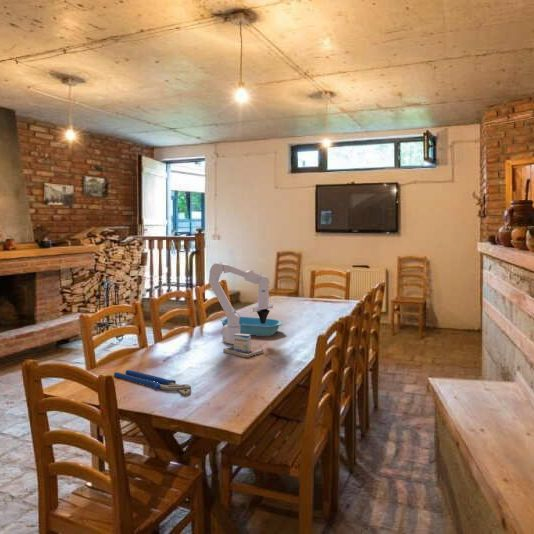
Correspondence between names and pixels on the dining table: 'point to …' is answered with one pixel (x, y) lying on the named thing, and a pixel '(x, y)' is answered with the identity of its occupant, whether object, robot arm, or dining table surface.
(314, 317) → the dining table surface
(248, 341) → the medicine box
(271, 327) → the casserole dish
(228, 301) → the robot arm
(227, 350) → the frame
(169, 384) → the pliers
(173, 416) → the dining table surface
